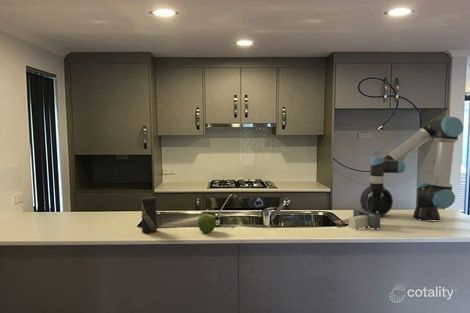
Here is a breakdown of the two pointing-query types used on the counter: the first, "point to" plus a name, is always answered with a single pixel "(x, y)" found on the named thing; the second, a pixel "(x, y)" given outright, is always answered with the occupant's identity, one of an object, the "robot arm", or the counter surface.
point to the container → (149, 214)
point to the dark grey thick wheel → (386, 202)
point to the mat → (343, 221)
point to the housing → (373, 217)
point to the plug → (359, 221)
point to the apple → (206, 223)
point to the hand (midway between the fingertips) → (375, 221)
